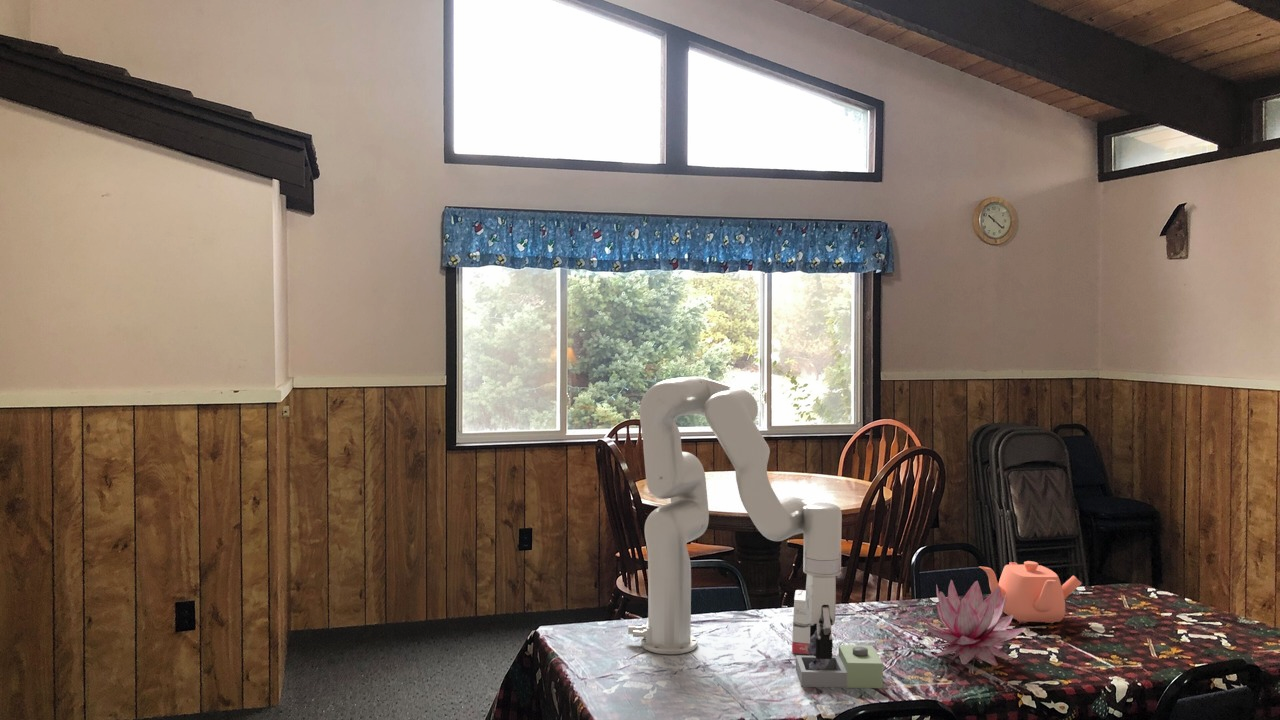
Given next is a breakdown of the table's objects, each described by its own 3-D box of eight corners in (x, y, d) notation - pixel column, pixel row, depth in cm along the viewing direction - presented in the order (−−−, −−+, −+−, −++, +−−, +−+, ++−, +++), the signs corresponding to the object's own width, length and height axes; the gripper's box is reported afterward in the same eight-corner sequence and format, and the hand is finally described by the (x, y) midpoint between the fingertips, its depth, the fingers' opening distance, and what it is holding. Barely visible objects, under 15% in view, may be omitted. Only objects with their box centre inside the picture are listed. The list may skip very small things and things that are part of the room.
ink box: (815, 655, 202) (816, 601, 201) (791, 653, 203) (792, 600, 202) (815, 642, 210) (816, 590, 210) (793, 640, 211) (794, 588, 211)
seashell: (803, 669, 192) (805, 621, 192) (829, 668, 193) (831, 621, 192) (810, 679, 187) (811, 631, 186) (836, 679, 187) (837, 631, 187)
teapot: (1053, 636, 215) (1055, 577, 214) (977, 617, 228) (978, 562, 227) (1083, 618, 228) (1084, 562, 227) (1008, 601, 241) (1010, 549, 240)
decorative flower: (946, 633, 216) (947, 569, 216) (1039, 657, 201) (1040, 589, 200) (899, 656, 201) (900, 588, 201) (995, 685, 186) (996, 610, 185)
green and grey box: (801, 686, 185) (801, 657, 184) (795, 667, 195) (795, 639, 194) (882, 688, 184) (883, 658, 184) (872, 669, 194) (872, 640, 194)
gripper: (797, 553, 197) (796, 636, 198) (809, 576, 179) (808, 667, 180) (833, 554, 197) (832, 637, 197) (848, 577, 179) (847, 668, 180)
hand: (820, 650), depth 189 cm, fingers open, 7 cm apart
